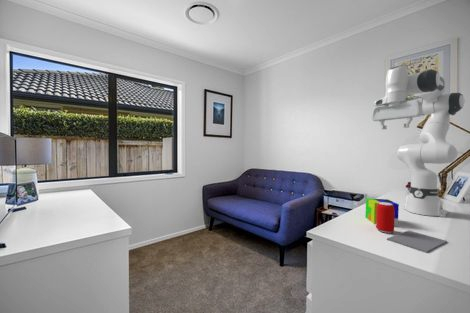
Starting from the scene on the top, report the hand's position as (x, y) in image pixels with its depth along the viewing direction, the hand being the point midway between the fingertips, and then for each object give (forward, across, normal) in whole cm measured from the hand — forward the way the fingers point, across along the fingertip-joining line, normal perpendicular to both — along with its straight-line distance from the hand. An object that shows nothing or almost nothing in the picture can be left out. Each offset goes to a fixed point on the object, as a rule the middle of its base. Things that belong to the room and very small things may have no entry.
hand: (394, 128), depth 103 cm
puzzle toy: (+46, +3, +4) cm, 46 cm away
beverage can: (+46, -5, +17) cm, 49 cm away
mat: (+46, -16, +17) cm, 52 cm away
